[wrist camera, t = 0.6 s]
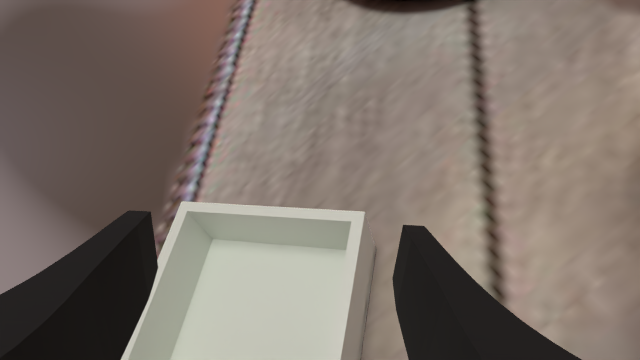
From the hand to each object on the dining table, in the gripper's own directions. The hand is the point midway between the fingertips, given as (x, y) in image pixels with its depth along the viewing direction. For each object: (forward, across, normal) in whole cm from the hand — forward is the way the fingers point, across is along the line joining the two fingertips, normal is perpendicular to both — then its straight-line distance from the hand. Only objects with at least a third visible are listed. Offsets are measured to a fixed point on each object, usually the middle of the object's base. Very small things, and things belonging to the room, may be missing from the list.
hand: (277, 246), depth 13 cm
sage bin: (+10, +1, +15) cm, 18 cm away
